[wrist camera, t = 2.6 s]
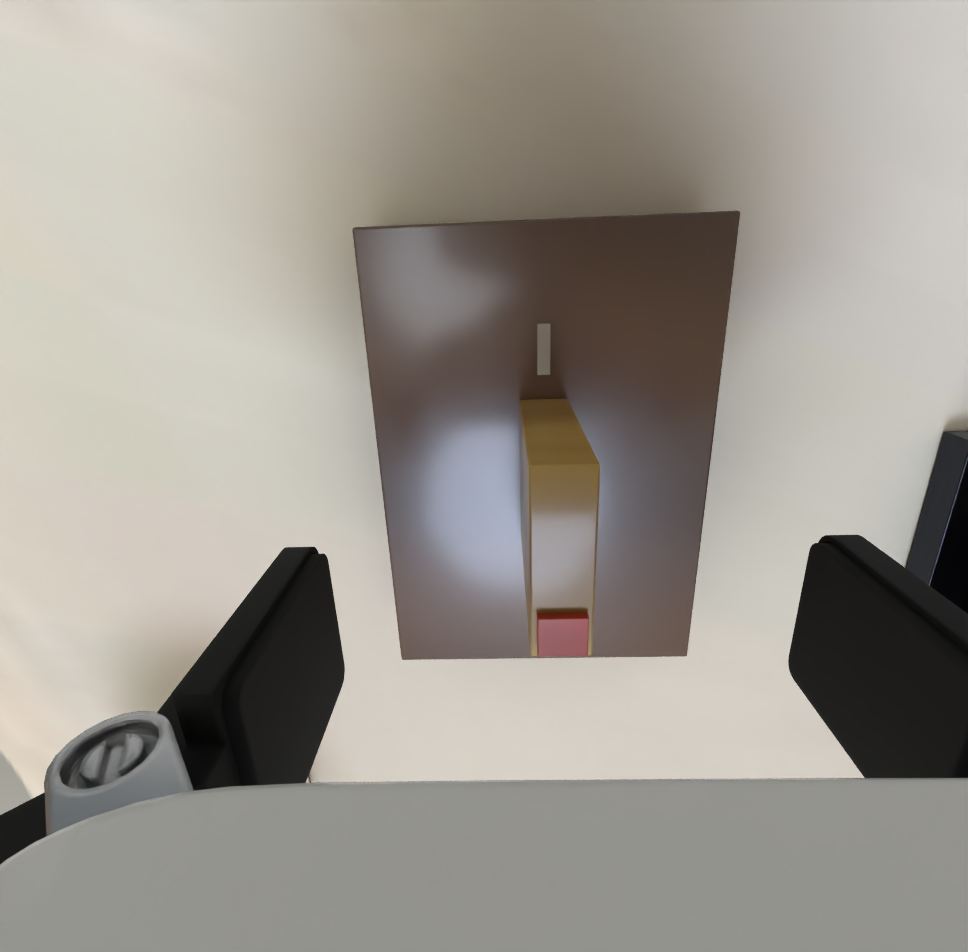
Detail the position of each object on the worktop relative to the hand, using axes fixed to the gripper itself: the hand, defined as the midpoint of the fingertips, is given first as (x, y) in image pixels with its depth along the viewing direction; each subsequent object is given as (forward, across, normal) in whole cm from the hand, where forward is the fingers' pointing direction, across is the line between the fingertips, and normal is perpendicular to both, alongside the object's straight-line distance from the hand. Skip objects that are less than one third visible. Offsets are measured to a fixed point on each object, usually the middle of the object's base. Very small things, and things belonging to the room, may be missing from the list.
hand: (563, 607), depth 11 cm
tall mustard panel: (+6, 0, 0) cm, 6 cm away
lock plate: (+10, 0, 0) cm, 10 cm away
